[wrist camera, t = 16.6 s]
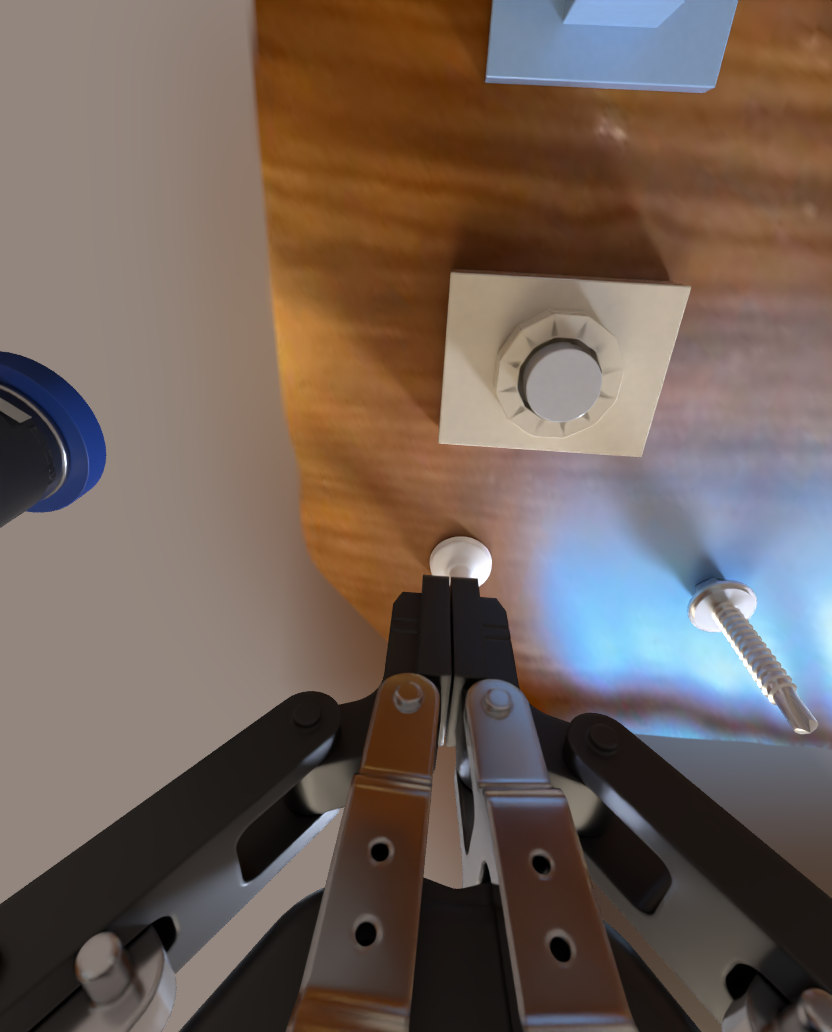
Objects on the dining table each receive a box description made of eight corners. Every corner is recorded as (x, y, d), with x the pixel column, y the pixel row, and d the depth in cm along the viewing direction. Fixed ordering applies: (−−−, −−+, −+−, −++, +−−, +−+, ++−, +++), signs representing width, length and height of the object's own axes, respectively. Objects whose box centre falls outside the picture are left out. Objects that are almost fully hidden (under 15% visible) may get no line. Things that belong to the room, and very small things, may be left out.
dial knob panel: (438, 429, 35) (437, 454, 31) (450, 268, 30) (450, 275, 26) (628, 441, 34) (651, 469, 31) (673, 281, 29) (706, 289, 26)
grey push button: (517, 410, 30) (520, 420, 28) (528, 339, 28) (532, 346, 26) (585, 414, 30) (592, 425, 28) (601, 344, 28) (610, 351, 26)
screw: (675, 616, 42) (681, 569, 39) (737, 612, 41) (747, 563, 39) (758, 761, 30) (773, 707, 28) (845, 758, 30) (869, 702, 28)
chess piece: (418, 570, 41) (409, 663, 32) (449, 525, 39) (448, 612, 30) (470, 595, 42) (475, 692, 33) (503, 553, 40) (518, 645, 31)
